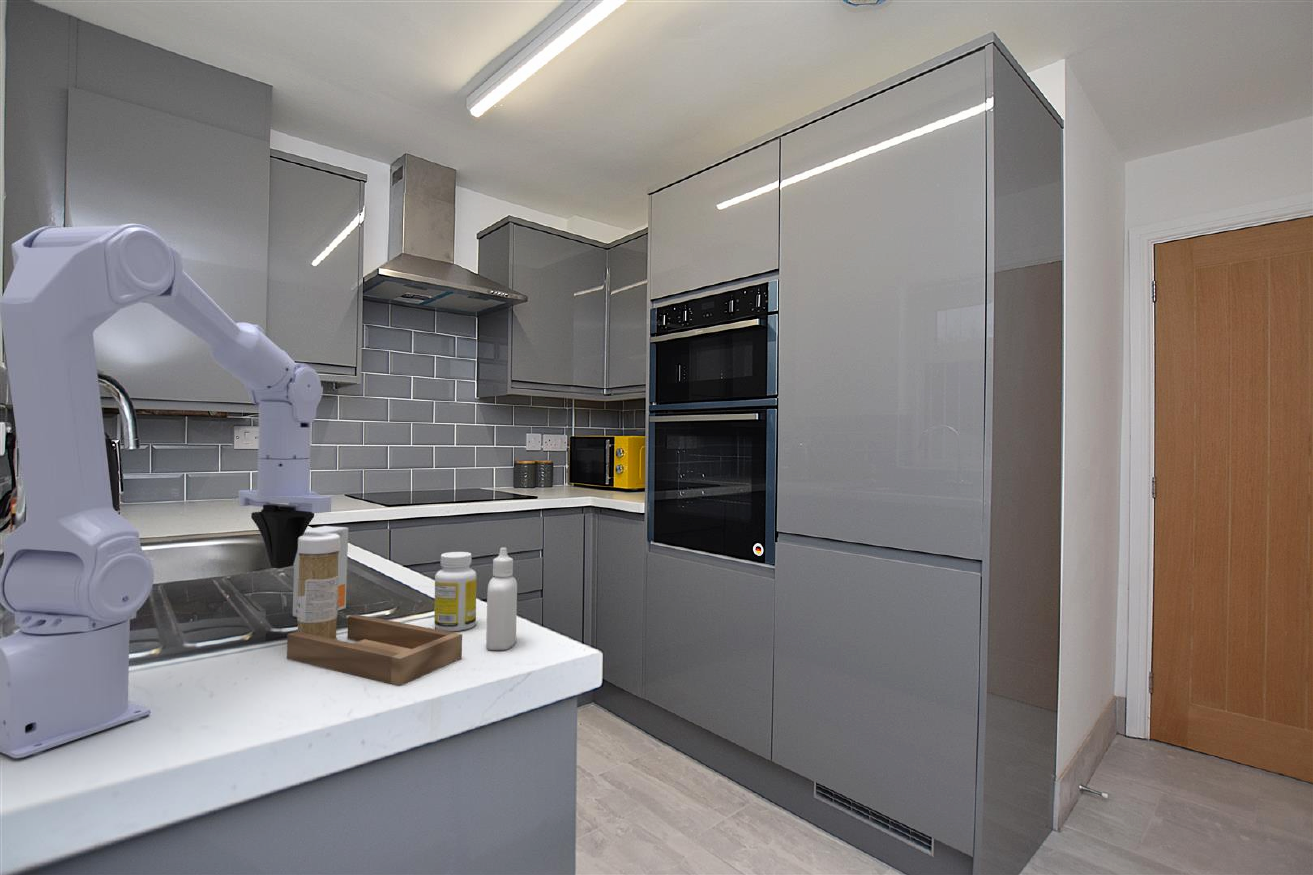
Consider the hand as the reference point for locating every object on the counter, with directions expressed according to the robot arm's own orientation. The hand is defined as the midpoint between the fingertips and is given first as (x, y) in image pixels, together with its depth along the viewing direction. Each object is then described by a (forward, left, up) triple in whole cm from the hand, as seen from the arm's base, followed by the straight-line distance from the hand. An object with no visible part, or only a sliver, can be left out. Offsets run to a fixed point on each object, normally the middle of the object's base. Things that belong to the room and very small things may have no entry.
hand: (282, 566), depth 82 cm
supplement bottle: (+14, -15, -9) cm, 23 cm away
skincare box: (+10, +6, -9) cm, 15 cm away
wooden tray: (0, -15, -9) cm, 18 cm away
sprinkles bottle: (0, -6, -9) cm, 11 cm away
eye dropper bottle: (+11, -25, -9) cm, 29 cm away
